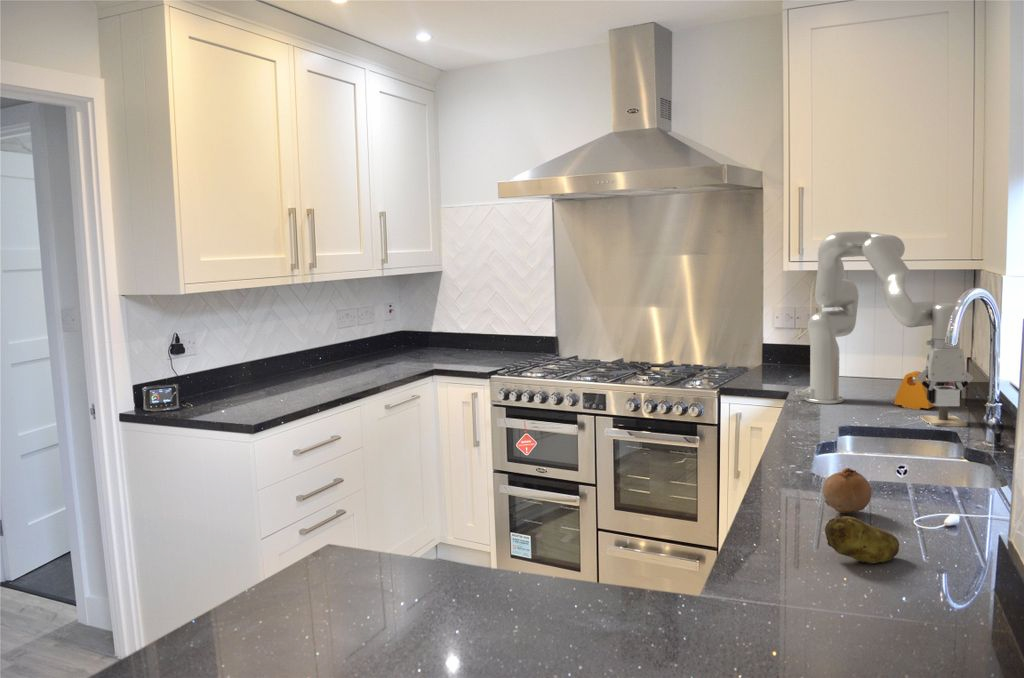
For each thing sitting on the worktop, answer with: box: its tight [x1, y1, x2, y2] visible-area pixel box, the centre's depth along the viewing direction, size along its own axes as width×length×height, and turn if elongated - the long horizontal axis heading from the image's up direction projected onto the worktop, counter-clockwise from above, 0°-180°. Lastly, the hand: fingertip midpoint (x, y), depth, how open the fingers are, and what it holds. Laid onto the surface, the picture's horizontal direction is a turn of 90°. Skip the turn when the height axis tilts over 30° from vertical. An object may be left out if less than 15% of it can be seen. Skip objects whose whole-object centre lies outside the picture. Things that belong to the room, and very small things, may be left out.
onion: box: [822, 467, 873, 514], centre depth 167 cm, size 10×9×10 cm
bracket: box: [893, 370, 936, 410], centre depth 265 cm, size 11×7×12 cm, turn 42°
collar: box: [932, 386, 961, 407], centre depth 242 cm, size 6×6×5 cm
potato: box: [824, 515, 900, 564], centre depth 143 cm, size 8×13×8 cm, turn 75°
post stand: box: [919, 386, 968, 427], centre depth 242 cm, size 10×10×11 cm
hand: (944, 401), depth 242 cm, fingers closed on collar, 6 cm apart
